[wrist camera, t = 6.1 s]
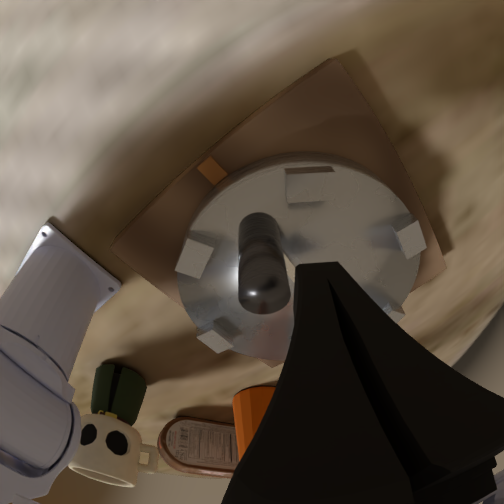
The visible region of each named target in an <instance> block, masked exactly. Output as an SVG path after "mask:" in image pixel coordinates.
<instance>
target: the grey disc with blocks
mask: <svg viewBox="0 0 504 504" xmlns="http://www.w3.org/2000/svg"><path fill="white" fill-rule="evenodd" d="M426 248H427V247H426V243H425V240H424V237H423V234H422V231H421V228H420V225H419V222H418V220H417V218H416V217H415V216H414V215H413V214H412V213H410V212H409V211H408V209H407V208H406V206H405V205H404V203H403V202H402V201H401V200H400V199H399V198H398V197H397V196H396V195H395V193H394V192H393V191H392V190H391V189H390V188H389V187H388V186H387V185H386V184H385V183H384V182H383V181H382V180H381V179H380V178H379V177H378V176H377V175H376V174H374V173H373V172H372V171H370V170H369V169H367V168H366V167H364V166H362V165H360V164H358V163H356V162H354V161H352V160H350V159H347V158H344V157H341V156H338V155H334V154H328V153H322V152H308V151H298V152H289V153H281V154H277V155H273V156H269V157H266V158H262V159H260V160H257V161H255V162H252V163H250V164H248V165H245V166H243V167H242V168H240V169H238V170H237V171H235V172H233V173H231V174H230V175H228V176H227V177H226V178H225V179H223V180H222V181H221V182H219V183H218V184H217V185H216V186H215V187H214V188H213V189H212V190H211V191H210V192H209V193H208V194H207V195H206V196H205V197H204V199H203V200H202V202H201V203H200V204H199V206H198V207H197V209H196V210H195V212H194V214H193V216H192V218H191V220H190V222H189V225H188V228H187V231H186V234H185V238H184V242H183V245H182V249H181V252H180V255H179V257H178V260H177V263H176V267H175V271H177V282H178V290H179V294H180V298H181V301H182V303H183V306H184V308H185V310H186V312H187V313H188V315H189V317H190V318H191V320H192V321H193V322H194V323H195V324H196V326H197V327H198V328H197V334H196V338H198V339H199V340H200V341H201V342H203V343H204V344H205V345H207V346H208V347H209V348H211V349H212V350H214V351H215V352H216V353H220V352H223V351H225V350H227V349H230V350H232V351H235V352H237V353H240V354H243V355H247V356H250V357H255V358H260V359H267V360H285V359H286V356H287V353H288V349H289V345H290V341H291V337H292V332H293V328H294V314H293V300H294V282H295V267H296V266H297V265H298V264H304V263H319V262H334V261H338V262H339V263H340V264H341V265H342V266H343V268H344V269H345V270H346V271H347V272H348V273H349V274H350V275H351V276H352V278H353V279H354V280H355V281H356V282H357V283H358V284H359V285H360V286H361V287H362V289H363V290H364V291H365V292H366V293H367V294H368V295H369V296H370V297H371V298H372V299H373V300H374V301H375V302H376V303H377V305H378V306H379V307H380V308H381V309H382V310H383V311H384V312H385V313H386V314H387V315H388V316H389V317H390V318H391V319H392V320H393V321H394V322H395V323H398V322H399V321H400V320H401V319H402V318H403V317H404V316H405V313H404V311H403V309H402V307H401V305H402V304H403V302H404V301H405V299H406V298H407V296H408V294H409V293H410V291H411V289H412V287H413V284H414V282H415V279H416V276H417V273H418V269H419V264H420V253H421V251H422V250H424V249H426Z"/></svg>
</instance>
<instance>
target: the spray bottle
mask: <svg viewBox="0 0 504 504" xmlns="http://www.w3.org/2000/svg"><path fill="white" fill-rule="evenodd" d="M275 388H276V387H268V386H260V387H253V388H248V389H246V390H243V391H240V392H239V393H238V394H236V395H235V396H234V398H233V402H232V403H233V412H234V421H235V430H236V438H237V446H238V454H239V461H240V460H241V458H242V456H243V454H244V453H245V451H246V449H247V447H248V446H249V444H250V442H251V440H252V439H253V437H254V435H255V433H256V431H257V429H258V427H259V425H260V422H261V420H262V418H263V416H264V414H265V412H266V410H267V407H268V405H269V403H270V401H271V398H272V396H273V393H274V391H275Z"/></svg>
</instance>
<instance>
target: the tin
mask: <svg viewBox="0 0 504 504" xmlns="http://www.w3.org/2000/svg"><path fill="white" fill-rule="evenodd" d="M157 446H158V450H159V453H160V455H161V457H162V459H163V460H164V461H165V462H166V463H167V464H168V465H169V466H170V467H172V468H173V469H175V470H177V471H180V472H184V473H190V474H197V475H204V476H212V477H221V478H232V476H233V473H234V470H235V468H236V466H237V465H238V463H239V454H238V446H237V438H236V430H235V425H234V424H227V423H221V422H215V421H209V420H203V419H198V418H193V417H178V418H175V419H173V420H171V421H170V422H168V423H167V424H166V425H165V427H164V428H163V430H162V431H161V433H160V434H159V437H158V441H157Z"/></svg>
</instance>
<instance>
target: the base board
mask: <svg viewBox="0 0 504 504" xmlns="http://www.w3.org/2000/svg"><path fill="white" fill-rule="evenodd" d="M298 151H308V152H322V153H328V154H334V155H338V156H341V157H344V158H347V159H350V160H352V161H354V162H356V163H358V164H360V165H362V166H364V167H366V168H367V169H369V170H370V171H372V172H373V173H374V174H376V175H377V176H378V177H379V178H380V179H381V180H382V181H383V182H384V183H385V184H386V185H387V186H388V187H389V188H390V189H391V190H392V191H393V192H394V193H395V195H396V196H397V197H398V198H399V199H400V200H401V201H402V202H403V203H404V205H405V206H406V208H407V209H408V211H409V212H410V213H412V214H413V215H414V216H415V217H416V218H417V220H418V222H419V225H420V228H421V231H422V234H423V237H424V240H425V243H426V247H427V248H426V249H424V250H422V251H421V253H420V264H419V269H418V273H417V276H416V279H415V282H414V284H413V287H412V289H411V291H410V293H411V292H412V291H414V290H415V289H417V288H418V287H420V286H421V285H423V284H424V283H426V282H428V281H429V280H431V279H432V278H433V277H435V276H436V275H438V274H439V273H441V272H442V271H444V270H445V269H447V267H446V264H445V261H444V258H443V255H442V253H441V250H440V247H439V245H438V242H437V239H436V237H435V234H434V232H433V229H432V227H431V224H430V222H429V220H428V217H427V215H426V213H425V210H424V208H423V206H422V203H421V201H420V199H419V197H418V195H417V193H416V190H415V188H414V186H413V184H412V182H411V180H410V178H409V176H408V174H407V172H406V170H405V168H404V166H403V164H402V162H401V160H400V158H399V156H398V155H397V153H396V151H395V149H394V147H393V145H392V144H391V142H390V140H389V138H388V136H387V135H386V133H385V131H384V129H383V128H382V126H381V124H380V123H379V121H378V119H377V118H376V116H375V114H374V113H373V111H372V110H371V108H370V106H369V105H368V103H367V102H366V100H365V99H364V97H363V95H362V94H361V92H360V91H359V89H358V88H357V86H356V85H355V84H354V82H353V81H352V79H351V78H350V76H349V75H348V73H347V72H346V71H345V69H344V68H343V66H342V65H341V64H340V62H339V61H338V60H337V59H328V60H326V61H325V62H323V63H322V64H320V65H319V66H317V67H316V68H314V69H313V70H311V71H310V72H308V73H307V74H305V75H304V76H303V77H301V78H300V79H298V80H297V81H295V82H294V83H293V84H291V85H290V86H288V87H287V88H286V89H284V90H283V91H282V92H280V93H279V94H277V95H276V96H275V97H273V98H272V99H271V100H269V101H268V102H267V103H265V104H264V105H263V106H261V107H260V108H259V109H258V110H256V111H255V112H254V113H252V114H251V115H250V116H249V117H247V118H246V119H245V120H243V121H242V122H241V123H240V124H238V125H237V126H236V127H235V128H234V129H232V130H231V131H230V132H229V133H227V134H226V135H225V136H224V137H223V138H221V139H220V140H219V141H218V142H217V143H215V144H214V145H213V146H212V147H211V148H210V149H208V150H207V151H206V152H205V153H204V154H203V155H201V156H200V157H199V158H198V159H197V160H196V161H195V162H193V163H192V164H191V165H190V166H189V167H188V168H187V169H186V170H184V171H183V172H182V173H181V174H180V175H179V176H178V177H177V178H176V179H175V180H174V181H172V182H171V183H170V184H169V185H168V186H167V187H166V188H165V189H164V190H163V191H162V192H161V193H160V194H159V195H158V196H157V197H156V198H154V199H153V200H152V201H151V202H150V203H149V204H148V205H147V206H146V207H145V208H144V209H143V210H142V211H141V212H140V213H139V214H138V215H137V216H136V217H135V218H134V219H133V220H132V221H131V222H130V223H129V224H128V225H127V226H126V227H125V228H124V229H123V230H122V232H121V233H120V234H119V235H118V236H117V237H116V238H115V240H114V242H113V243H112V245H111V247H110V249H109V250H110V251H111V252H112V253H114V254H115V255H116V256H117V257H118V258H120V259H121V260H122V261H123V262H125V263H126V264H127V265H128V266H130V267H131V268H132V269H133V270H135V271H136V272H137V273H138V274H140V275H141V276H142V277H143V278H145V279H146V280H147V281H149V282H150V283H151V284H152V285H154V286H155V287H156V288H158V289H159V290H160V291H162V292H163V293H164V294H166V295H167V296H168V297H170V298H171V299H172V300H174V301H175V302H176V303H178V304H179V305H180V306H182V307H183V308H184V306H183V303H182V301H181V298H180V294H179V290H178V282H177V271H175V267H176V263H177V260H178V257H179V255H180V252H181V249H182V245H183V242H184V238H185V234H186V231H187V228H188V225H189V222H190V220H191V218H192V216H193V214H194V212H195V210H196V209H197V207H198V206H199V204H200V203H201V202H202V200H203V199H204V197H205V196H206V195H207V194H208V193H209V192H210V191H211V190H212V189H213V188H214V187H215V186H216V185H217V184H218V183H219V182H221V181H222V180H223V179H225V178H226V177H227V176H228V175H230V174H231V173H233V172H235V171H237V170H238V169H240V168H242V167H243V166H245V165H248V164H250V163H252V162H255V161H257V160H260V159H262V158H266V157H269V156H273V155H277V154H281V153H289V152H298ZM184 309H185V308H184ZM257 359H259V360H260V361H262V362H264V363H265V364H267V365H268V366H270V367H271V368H273V367H275V366H277V365H279V364H282V363H284V362H285V360H267V359H260V358H257Z"/></svg>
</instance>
